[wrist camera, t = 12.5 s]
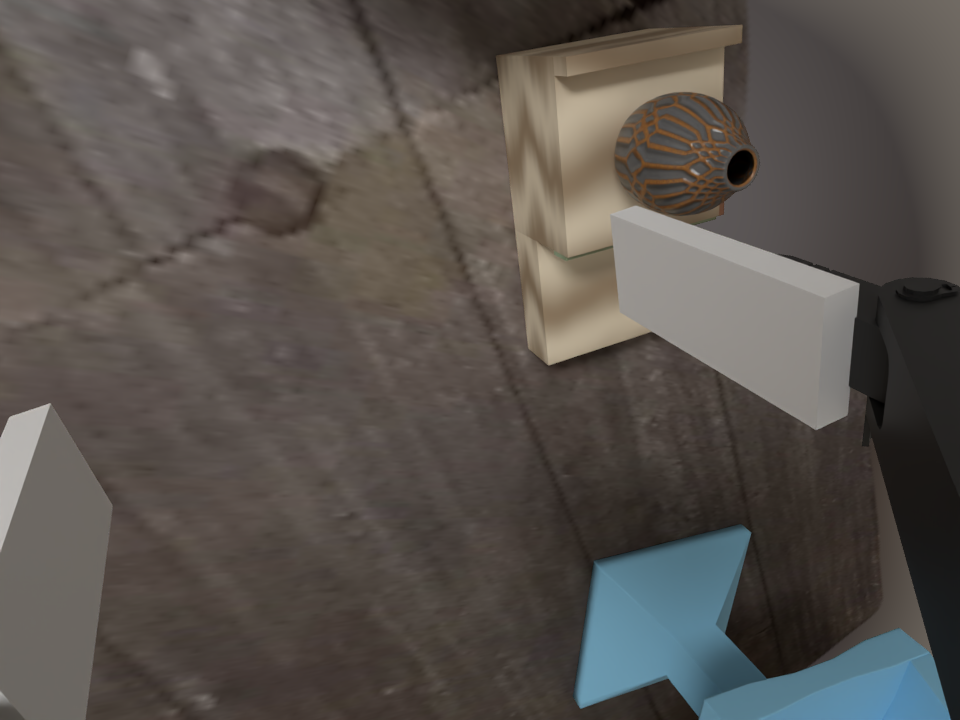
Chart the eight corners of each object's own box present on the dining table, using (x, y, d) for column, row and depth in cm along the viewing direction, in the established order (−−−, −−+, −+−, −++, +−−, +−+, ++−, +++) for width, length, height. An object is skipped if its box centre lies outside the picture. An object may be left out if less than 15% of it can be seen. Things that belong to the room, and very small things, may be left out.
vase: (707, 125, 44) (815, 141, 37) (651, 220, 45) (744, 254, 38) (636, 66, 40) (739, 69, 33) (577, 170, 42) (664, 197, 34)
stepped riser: (495, 55, 45) (565, 56, 37) (652, 27, 48) (747, 23, 40) (528, 348, 55) (588, 399, 47) (656, 308, 59) (732, 348, 51)
